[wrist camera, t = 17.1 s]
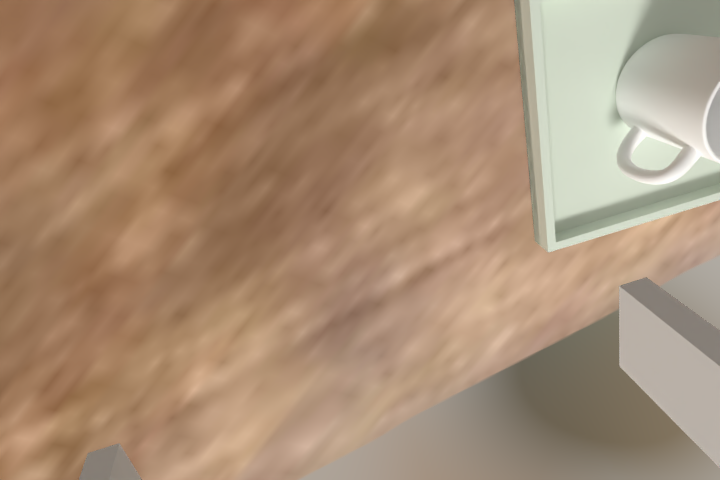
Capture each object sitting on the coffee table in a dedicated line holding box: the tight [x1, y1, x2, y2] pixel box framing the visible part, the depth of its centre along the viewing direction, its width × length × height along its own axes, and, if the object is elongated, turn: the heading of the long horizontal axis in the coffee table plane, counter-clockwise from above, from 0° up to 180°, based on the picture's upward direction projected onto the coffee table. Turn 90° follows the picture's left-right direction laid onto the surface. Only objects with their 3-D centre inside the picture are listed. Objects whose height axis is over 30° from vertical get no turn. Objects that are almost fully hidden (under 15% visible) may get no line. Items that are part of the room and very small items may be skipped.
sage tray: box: [514, 0, 720, 252], centre depth 46 cm, size 22×20×2 cm
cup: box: [616, 34, 720, 185], centre depth 41 cm, size 8×12×10 cm
